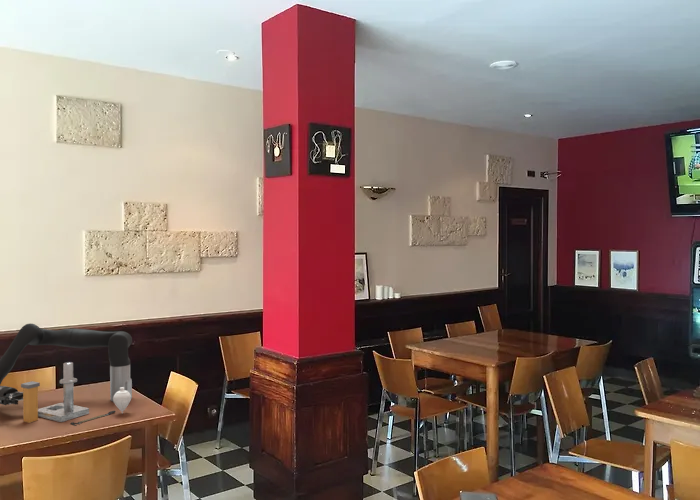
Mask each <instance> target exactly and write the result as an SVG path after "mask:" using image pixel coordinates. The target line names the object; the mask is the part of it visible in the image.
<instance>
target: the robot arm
mask: <svg viewBox="0 0 700 500" xmlns="http://www.w3.org/2000/svg"><path fill="white" fill-rule="evenodd" d="M132 343H133V337H132V336H131V334H130V333H128V332H126V331H123V330H121V331H120V330H119V331H102V330H94V329H86V328H64V329H59V330H53V329H46V328H41V327H39V326H38V325H36V324H35V323H26V324H25V325H23V326H22V327H21V328H20V329H19V330H18V333H16V335H15V337H14V338H13V340H12V342H11V343H10V345H9V347H7V350H6V351H5V352H4V353H3V355H2V356H1V357H0V405H3V406H7V405H8V406H9V405H19V401H23V391H18V389H17V388H15V387H11V386H7V385H1V384H2V383H3V381H4V379H5V378H6V377H7V376H8V374H9V373H10V372H11V371H12V369H13V368H14V366H15V365H16V362H17V360H18V358H19V356H20V354H21V353H22V352H23V350H24V349H25V348H26V347H27V346H28V345H30V346H58V347H64V348H74V349H75V348H76V349H87V348H98V347H105V348H106V347H107V349H108V360H109V377H110V379H109V380H110V381H109V383H110V384H109V385H110V387H109V389H110V391H109V393H110V402H113V403H114V401H113V397H114V395H115V393H116V392H118V391H120V388H121V387H124V390H126V391H128V392H129V393H130V394H131V399H132V398H133V394H132V393H133V388H132V387H133V383H132V382H133V381H132V380H133V379H132V378H131V359H130V357H129V348H130V346H131V345H132Z"/></svg>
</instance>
